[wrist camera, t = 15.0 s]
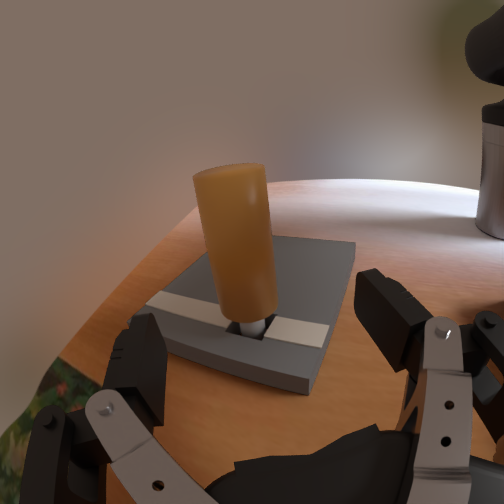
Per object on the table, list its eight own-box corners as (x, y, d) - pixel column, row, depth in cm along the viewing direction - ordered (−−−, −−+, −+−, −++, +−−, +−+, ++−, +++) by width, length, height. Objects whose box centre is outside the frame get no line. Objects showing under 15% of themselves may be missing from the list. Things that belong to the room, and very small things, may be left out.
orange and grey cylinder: (243, 319, 26) (217, 165, 20) (288, 329, 24) (275, 162, 18) (219, 352, 22) (178, 181, 16) (269, 365, 21) (244, 178, 14)
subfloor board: (232, 245, 40) (230, 231, 40) (355, 257, 33) (355, 241, 32) (134, 337, 25) (126, 320, 24) (308, 395, 17) (309, 377, 17)
